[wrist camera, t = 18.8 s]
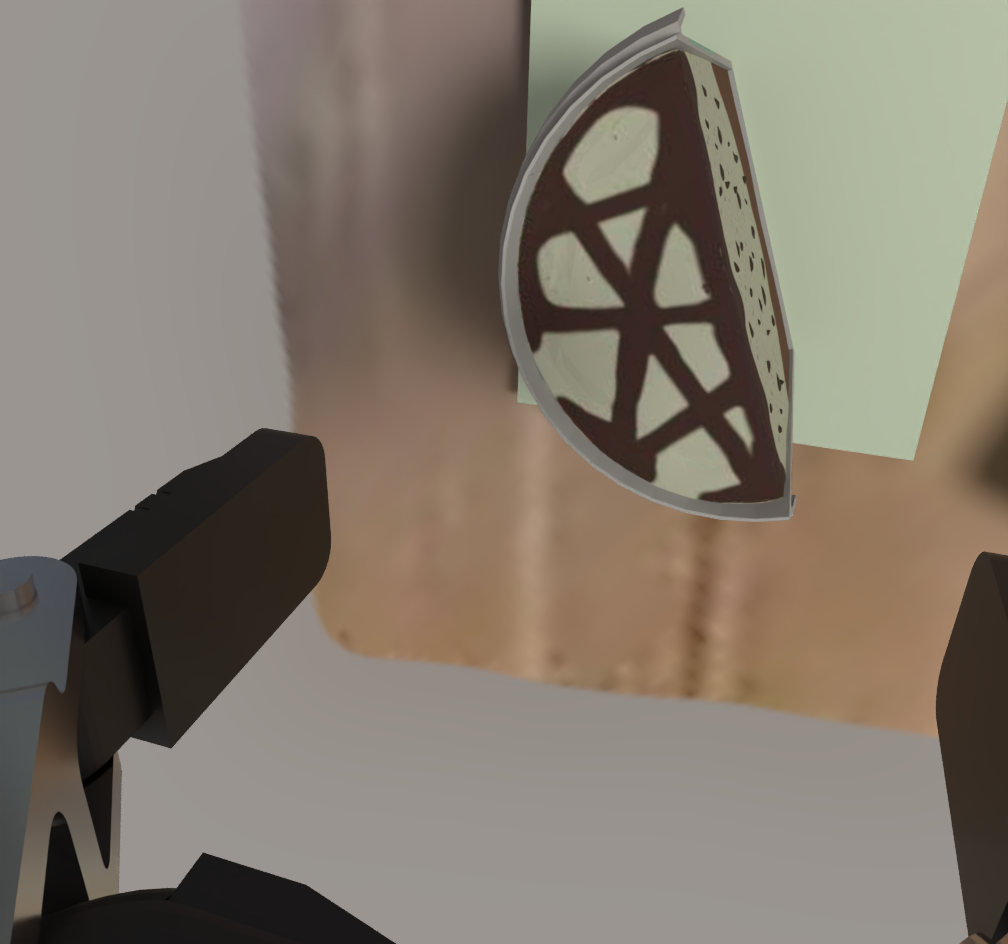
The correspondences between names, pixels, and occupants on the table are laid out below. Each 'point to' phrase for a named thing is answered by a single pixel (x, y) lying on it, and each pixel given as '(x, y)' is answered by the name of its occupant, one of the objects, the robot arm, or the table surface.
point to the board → (838, 176)
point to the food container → (654, 283)
